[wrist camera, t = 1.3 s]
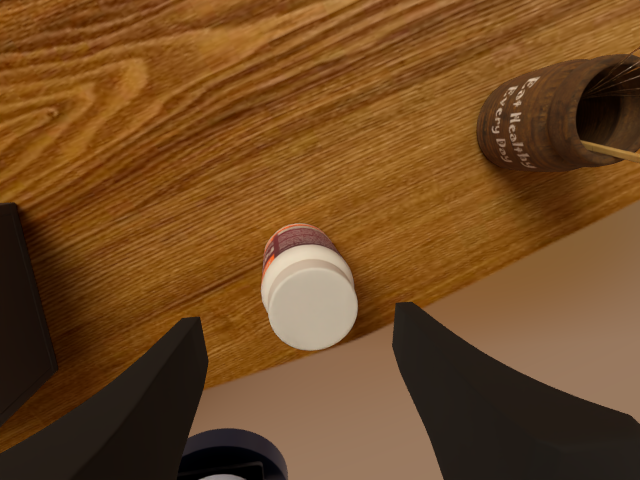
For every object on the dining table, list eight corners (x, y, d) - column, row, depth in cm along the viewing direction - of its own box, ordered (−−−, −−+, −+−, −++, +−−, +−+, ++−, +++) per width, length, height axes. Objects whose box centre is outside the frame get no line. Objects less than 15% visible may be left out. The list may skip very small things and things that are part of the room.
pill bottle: (257, 229, 22) (248, 270, 14) (328, 216, 22) (360, 249, 14) (271, 295, 23) (270, 369, 15) (337, 282, 23) (372, 346, 15)
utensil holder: (552, 69, 22) (863, -29, 10) (553, 165, 24) (823, 171, 12) (469, 86, 21) (698, 1, 10) (476, 182, 23) (680, 206, 12)
